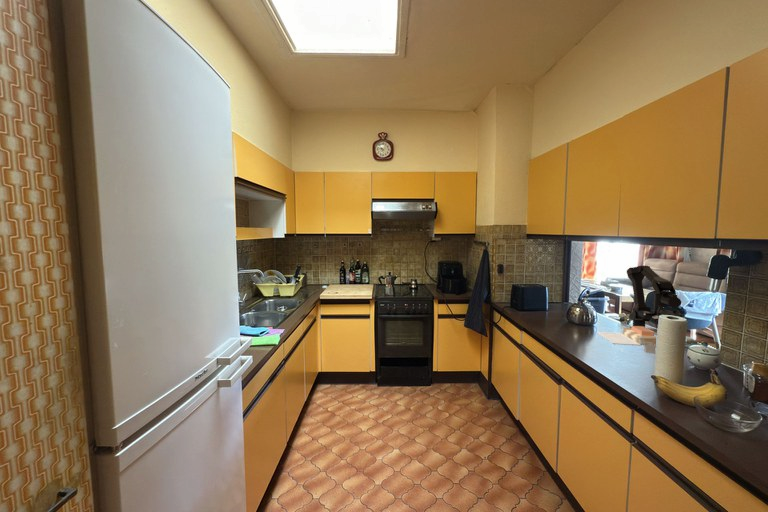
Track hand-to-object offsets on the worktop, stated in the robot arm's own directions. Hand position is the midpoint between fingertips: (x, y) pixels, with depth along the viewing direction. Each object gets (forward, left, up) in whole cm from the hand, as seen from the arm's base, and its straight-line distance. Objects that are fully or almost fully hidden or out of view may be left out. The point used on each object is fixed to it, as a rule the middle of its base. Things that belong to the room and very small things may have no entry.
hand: (658, 330), depth 167 cm
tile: (0, -8, -2) cm, 8 cm away
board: (0, -9, -6) cm, 11 cm away
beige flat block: (+18, -17, -6) cm, 25 cm away
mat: (0, -20, -6) cm, 21 cm away
